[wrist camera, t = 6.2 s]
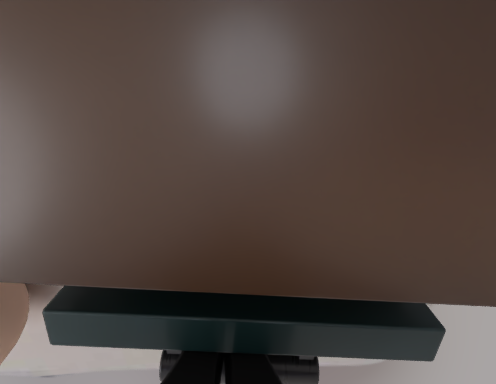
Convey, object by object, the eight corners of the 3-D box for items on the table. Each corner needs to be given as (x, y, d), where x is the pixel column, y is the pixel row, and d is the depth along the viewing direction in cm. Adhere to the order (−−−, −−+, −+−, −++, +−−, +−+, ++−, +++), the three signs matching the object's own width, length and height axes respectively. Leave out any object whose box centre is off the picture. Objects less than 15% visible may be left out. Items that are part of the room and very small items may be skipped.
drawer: (335, 305, 16) (394, 456, 10) (144, 295, 16) (74, 445, 9) (423, -88, 10) (754, -399, 3) (110, -116, 9) (-167, -512, 3)
